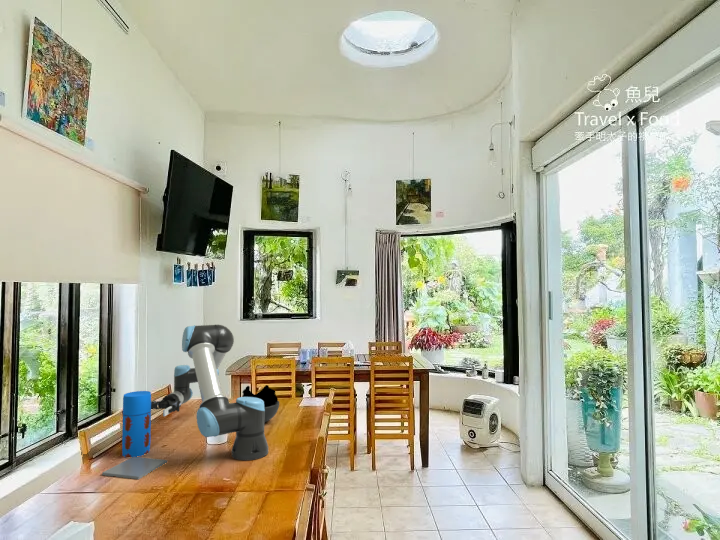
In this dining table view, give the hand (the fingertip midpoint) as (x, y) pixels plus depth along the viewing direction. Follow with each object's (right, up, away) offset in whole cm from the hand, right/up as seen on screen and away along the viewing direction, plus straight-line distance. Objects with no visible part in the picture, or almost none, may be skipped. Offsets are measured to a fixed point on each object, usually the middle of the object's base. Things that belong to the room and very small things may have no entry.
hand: (149, 413), depth 196 cm
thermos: (0, -14, -10) cm, 17 cm away
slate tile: (+8, -13, -27) cm, 31 cm away
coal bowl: (+43, -16, +32) cm, 55 cm away
